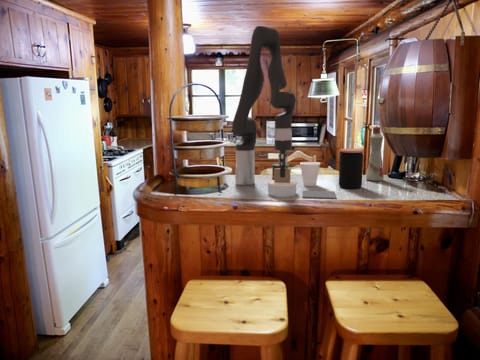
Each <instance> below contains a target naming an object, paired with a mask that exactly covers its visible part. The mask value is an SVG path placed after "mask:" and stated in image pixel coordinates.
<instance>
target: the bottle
mask: <svg viewBox="0 0 480 360" xmlns="http://www.w3.org/2000/svg"><path fill="white" fill-rule="evenodd" d="M372 129H373V130H372V134H371V135H370V137H369V139H370V140H369V141H370V154H369V160H368V166H367V170H366V174H365V179H366V180H368V181H371V182H377V181H379V182H382V181H383V180H384V178H385V177H384V167H383V158H382V150H381V149H382V145H383V140H384V136H383V135H382V134H381V126H378V125H376V126H373V127H372Z"/></svg>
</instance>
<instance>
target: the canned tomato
mask: <svg viewBox="0 0 480 360" xmlns="http://www.w3.org/2000/svg"><path fill="white" fill-rule="evenodd" d="M271 166H272V168H271V169H272V173H271V174H272V175H271V177H272V180H274V169H275V168H279V162H275V163H272V165H271ZM286 168H290V164H289V163H287V166H286Z"/></svg>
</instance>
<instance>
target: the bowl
mask: <svg viewBox="0 0 480 360" xmlns="http://www.w3.org/2000/svg"><path fill="white" fill-rule="evenodd" d="M267 184H268V183H267ZM267 187H268V189H267V191H268V192H267V194H268V195H269V196H271V197H278V198H289V196H290V197H294V196H296V195H297V185H295V186H289V187H277V186H271V185H269V184H268V186H267ZM268 195H267V196H268Z"/></svg>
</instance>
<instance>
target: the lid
mask: <svg viewBox="0 0 480 360" xmlns="http://www.w3.org/2000/svg"><path fill="white" fill-rule="evenodd" d="M291 172H292V171H291V168H290V167H289V168H285V177H284V178H282V177H280V168H275V169H274V180H271V179H270V180H268V182H267V184H269V185H271V186H277V187H289V186H295V185H296V186H297V184H298V181H296V180H293V179H292V178H291V174H292V173H291Z"/></svg>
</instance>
